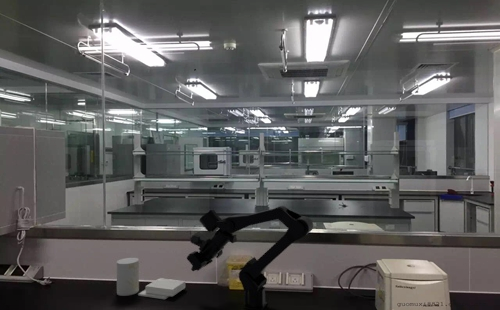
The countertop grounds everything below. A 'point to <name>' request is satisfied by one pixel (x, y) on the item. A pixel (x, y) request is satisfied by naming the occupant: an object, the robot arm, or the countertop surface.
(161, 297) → the mat
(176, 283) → the white rectangular block
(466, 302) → the countertop surface
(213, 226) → the robot arm
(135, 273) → the grey upright cylinder
